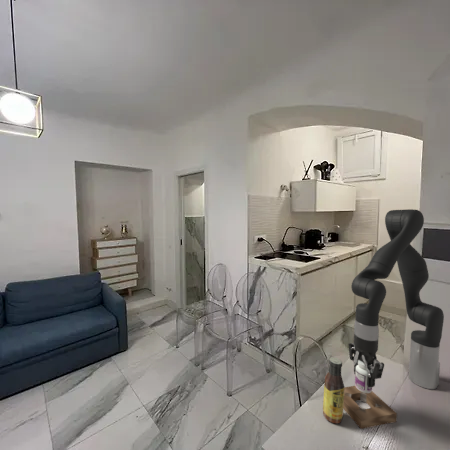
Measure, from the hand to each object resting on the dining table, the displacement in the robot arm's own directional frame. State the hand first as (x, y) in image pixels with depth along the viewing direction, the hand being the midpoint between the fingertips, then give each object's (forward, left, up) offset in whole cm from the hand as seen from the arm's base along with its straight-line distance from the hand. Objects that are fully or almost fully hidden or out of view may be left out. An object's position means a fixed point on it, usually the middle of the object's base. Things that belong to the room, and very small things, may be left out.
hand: (363, 380), depth 85 cm
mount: (0, 0, -10) cm, 10 cm away
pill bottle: (0, 0, -3) cm, 3 cm away
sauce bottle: (+13, +1, -11) cm, 17 cm away
